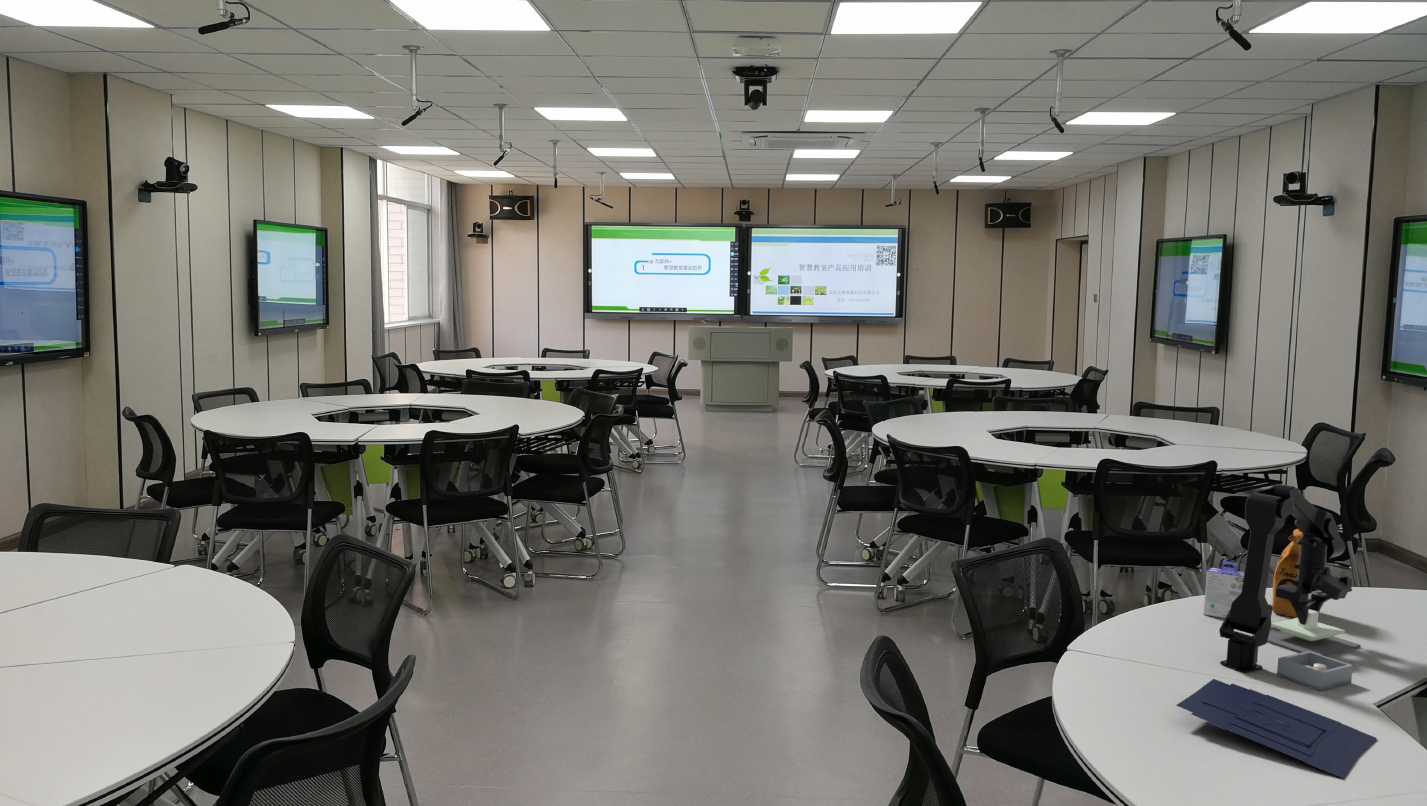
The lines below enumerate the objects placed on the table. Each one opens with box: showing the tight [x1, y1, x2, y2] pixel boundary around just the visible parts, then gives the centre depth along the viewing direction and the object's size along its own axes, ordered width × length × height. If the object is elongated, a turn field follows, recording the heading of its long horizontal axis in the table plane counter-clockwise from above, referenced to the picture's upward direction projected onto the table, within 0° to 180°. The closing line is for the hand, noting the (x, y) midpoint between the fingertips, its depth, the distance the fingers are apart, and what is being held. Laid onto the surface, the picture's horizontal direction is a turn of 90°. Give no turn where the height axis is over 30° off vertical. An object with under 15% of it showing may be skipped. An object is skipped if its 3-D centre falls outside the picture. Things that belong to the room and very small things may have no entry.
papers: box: [1175, 678, 1378, 779], centre depth 198 cm, size 24×30×4 cm
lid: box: [1271, 609, 1346, 641], centre depth 250 cm, size 12×11×6 cm
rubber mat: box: [1251, 628, 1362, 657], centre depth 251 cm, size 18×16×1 cm
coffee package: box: [1271, 528, 1304, 618], centre depth 273 cm, size 10×12×22 cm
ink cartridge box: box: [1203, 560, 1245, 619], centre depth 269 cm, size 10×6×14 cm, turn 53°
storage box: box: [1276, 651, 1354, 692], centre depth 226 cm, size 11×10×4 cm
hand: (1307, 623), depth 250 cm, fingers closed on lid, 3 cm apart
